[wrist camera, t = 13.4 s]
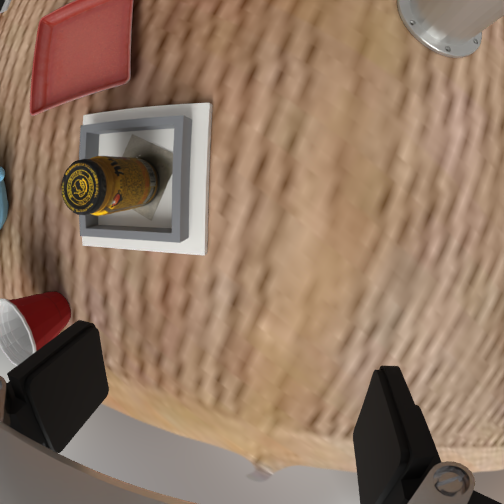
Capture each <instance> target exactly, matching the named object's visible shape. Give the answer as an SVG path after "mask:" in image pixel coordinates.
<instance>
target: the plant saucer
mask: <svg viewBox="0 0 504 504" xmlns="http://www.w3.org/2000/svg"><path fill="white" fill-rule="evenodd" d="M133 1H134V0H75V1H73V2H71V3H68V4H66V5H65V6H63V7H61V8H59V9H57V10H55V11H53V12H51V13H49V14H47V15H45V16H44V17H42V18H41V20H40V21H39V25H38V31H37V37H36V44H35V51H34V59H33V68H32V79H31V95H30V115H31V116H34V115H37V114H39V113H42V112H44V111H47V110H49V109H52V108H54V107H57V106H59V105H62V104H65V103H67V102H70V101H73V100H76V99H79V98H82V97H84V96H88V95H90V94H94V93H97V92H100V91H103V90H107V89H110V88H114V87H117V86H121V85H124V84H126V83H128V82H129V80H130V77H131V33H132V15H133Z"/></svg>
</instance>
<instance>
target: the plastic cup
mask: <svg viewBox="0 0 504 504" xmlns="http://www.w3.org/2000/svg"><path fill="white" fill-rule="evenodd" d="M70 317H71V310H70V307H69V304H68V302H67V300H66V299H65V298H64V297H63V296H62V295H61V294H60V293H58V292H46V293H42V294H36V295H32V296H28V297H23V298H19V299H12V300H7V299H0V347H1V349H2V350H3V352H4V353H5V355H6V356H7V357H8V359H9V360H10V361H11V362H12V363H13V364H14V365H16V366H18V365H19V364H20V363H22V362H23V361H24V360H26V359H27V358H28V357H30V356H31V355H32V354H33V353H35V352H36V351H37V350H39V349H40V348H41V347H43V346H44V345H45V344H47V343H48V342H50V341H51V340H52V339H54V338H55V337H56V336H57V335H58V334H59V333H60V331H61V330H62V329H63V328H64V327H65V326H66V325H67V323H68V321H69V319H70Z"/></svg>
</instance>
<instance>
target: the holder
mask: <svg viewBox="0 0 504 504" xmlns="http://www.w3.org/2000/svg"><path fill="white" fill-rule="evenodd" d="M211 122H212V104H211V103H192V104H175V105H162V106H150V107H140V108H131V109H123V110H115V111H108V112H101V113H94V114H88V115H84V117H83V125H81V131H80V150H79V160H81V159H90V158H92V157H96V156H113V157H122V156H123V154H124V152H125V149H126V147H127V145H128V142H129V140H130V138H131V136H132V134H133V135H135V136H138V137H140V138H142V139H144V140H146V141H148V142H150V143H153V144H155V145H157V146H159V147H161V148H163V149H165V150H167V151H169V152H171V153H173V172H172V175H171V177H170V180H169V181H168V183H167V186H166V189H165V191H164V193H163V195H162V198H161V200H160V202H159V204H158V207H157V209H156V211H155V214H154V216H153V218H152V221H151V220H149V219H148V218H146V217H144V216H142V215H141V214H139V213H138V212H136V211H134V210H132V209H130V210H126V211H120V212H115V213H112V214H108V215H101V216H96V215H92V214H89V215H79V222H80V236H82V242H83V246H95V247H107V248H119V249H131V250H143V251H156V252H168V253H181V254H193V255H206V254H207V242H208V196H209V166H210V142H211ZM139 156H140V155H139ZM136 158H137V157H136Z"/></svg>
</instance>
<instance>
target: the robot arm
mask: <svg viewBox="0 0 504 504" xmlns="http://www.w3.org/2000/svg"><path fill="white" fill-rule="evenodd" d="M397 6H398V11H399V14H400V17H401V19H402V21H403V23H404V24H405V26H406V27H407V29H408V30H409V31H410V33H411V34H412V35H413V36H414V37H415V38H416V39H417V40H418V41H420V42H421V43H422V44H423V45H424V46H426V47H428V48H429V49H431V50H432V51H434V52H436V53H438V54H440V55H444V56H447V57H452V58H463V57H466V56H469V55H470V54H472V53H474V52H475V51H476V50H477V49H478V47H479V46H480V43H481V39H482V31H483V30H484V29H486V28H487V27H488V26H490V25H491V24H493V23H494V22H495V21H497V20H498V19H499V18H501V17H502V16H504V0H397ZM7 375H8V377H9V380H10V381H9V382H8V383H6V381H5V380H4V378H3V377H1V376H0V504H197V503H193V502H189V501H185V500H181V499H177V498H173V497H170V496H166V495H162V494H159V493H156V492H153V491H149V490H146V489H143V488H140V487H137V486H134V485H132V484H129V483H126V482H123V481H120V480H118V479H115V478H112V477H110V476H107V475H105V474H102V473H100V472H98V471H95V470H93V469H90V468H88V467H85V466H83V465H81V464H79V463H77V462H75V461H72V460H70V459H68V458H66V457H64V456H62V455H60V454H58V453H60V452H61V451H62V450H63V449H64V448H65V446H66V445H67V444H68V443H69V442H70V440H71V439H72V438H73V437H74V435H75V434H76V433H77V432H78V431H79V429H80V428H81V427H82V426H83V424H84V423H85V422H86V421H87V420H88V419H89V417H90V416H91V415H92V413H94V411H95V410H96V409H97V408H98V406H99V405H100V404H101V403H102V402H103V400H104V399H105V398H106V397H107V395H108V392H109V387H108V382H107V377H106V372H105V366H104V361H103V355H102V349H101V342H100V336H99V331H98V329H97V328H96V327H95V325H94V324H93V323H89V322H85V321H82V320H79V321H77V322H75V323H74V324H73V325H71V326H70V327H69V328H67V329H66V330H64V331H63V332H62V333H60V334H59V335H58V336H56V337H55V338H54V339H52V340H51V341H50V342H48V343H47V344H45V345H44V346H43V347H41V348H40V349H39V350H37V351H36V352H35V353H33V354H32V355H31V356H30V357H28V358H27V359H26V360H24V361H23V362H22V363H20V364H19V365H18V366H16V367H15V368H14V369H13V370H11V371H10V372H9V373H8V374H7ZM353 442H354V450H355V458H356V466H357V475H358V485H359V494H360V504H501V503H499V502H497V501H495V500H493V499H491V498H488V497H486V496H484V495H482V494H480V493H478V492H476V491H474V486H475V480H474V476H473V474H472V472H471V471H470V470H469V469H468V468H467V467H465V466H464V465H462V464H460V463H456V462H442V463H441V460H440V457H439V455H438V452H437V449H436V447H435V444H434V441H433V439H432V436H431V434H430V431H429V428H428V426H427V423H426V421H425V418H424V416H423V414H422V411H421V409H420V407H419V406H417V405H415V403H414V401H413V399H412V396H411V394H410V391H409V389H408V386H407V384H406V382H405V379H404V377H403V375H402V372H401V370H400V368H399V367H398V366H381V367H380V369H379V370H375V371H374V372H373V375H372V378H371V382H370V385H369V388H368V391H367V394H366V397H365V400H364V403H363V406H362V409H361V412H360V415H359V417H358V420H357V423H356V426H355V429H354V433H353Z"/></svg>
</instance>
